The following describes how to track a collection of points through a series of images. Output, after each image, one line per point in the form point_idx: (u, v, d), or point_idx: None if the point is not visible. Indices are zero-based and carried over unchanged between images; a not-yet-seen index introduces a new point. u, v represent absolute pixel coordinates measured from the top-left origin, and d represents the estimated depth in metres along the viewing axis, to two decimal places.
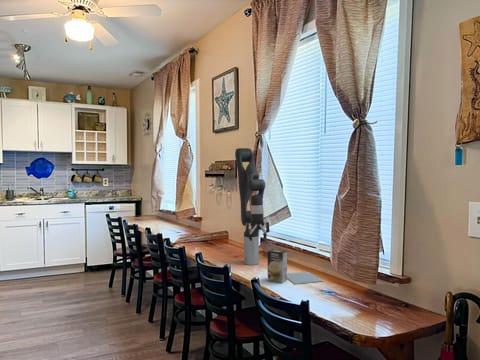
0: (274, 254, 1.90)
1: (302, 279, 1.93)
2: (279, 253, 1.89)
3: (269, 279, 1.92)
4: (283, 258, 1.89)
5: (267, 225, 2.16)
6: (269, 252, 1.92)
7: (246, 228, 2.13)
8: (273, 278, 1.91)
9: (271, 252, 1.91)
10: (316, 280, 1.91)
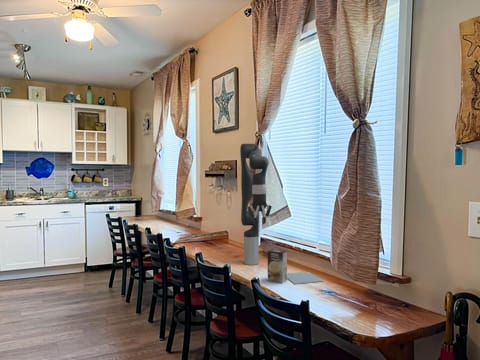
0: (274, 254, 1.90)
1: (302, 279, 1.93)
2: (279, 253, 1.89)
3: (269, 279, 1.92)
4: (283, 258, 1.89)
5: (269, 208, 1.98)
6: (269, 252, 1.92)
7: (249, 212, 1.96)
8: (273, 278, 1.91)
9: (271, 252, 1.91)
10: (316, 280, 1.91)
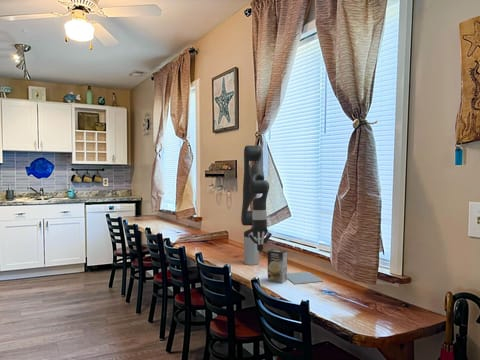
0: (274, 254, 1.90)
1: (302, 279, 1.93)
2: (279, 253, 1.89)
3: (269, 279, 1.92)
4: (283, 258, 1.89)
5: (268, 236, 1.90)
6: (269, 252, 1.92)
7: (252, 239, 1.88)
8: (273, 278, 1.91)
9: (271, 252, 1.91)
10: (316, 280, 1.91)
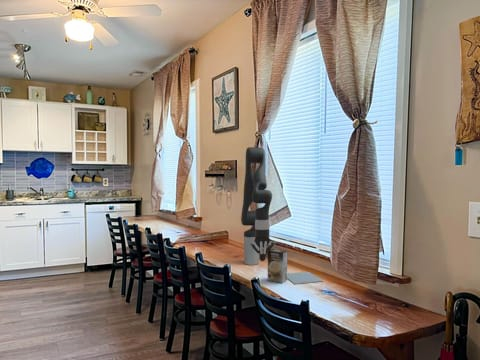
0: (274, 254, 1.90)
1: (302, 279, 1.93)
2: (279, 253, 1.89)
3: (269, 279, 1.92)
4: (283, 258, 1.89)
5: (271, 245, 1.91)
6: (269, 252, 1.92)
7: (254, 249, 1.89)
8: (273, 278, 1.91)
9: (271, 252, 1.91)
10: (316, 280, 1.91)
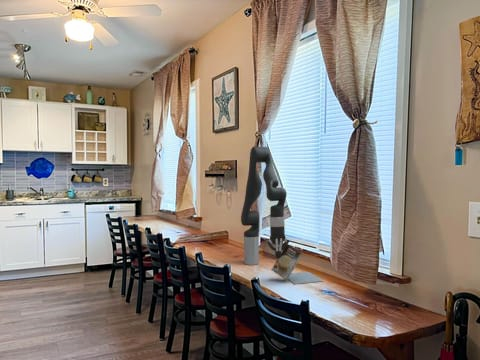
0: (291, 250, 1.92)
1: (302, 279, 1.93)
2: (297, 251, 1.91)
3: (273, 269, 1.92)
4: (297, 258, 1.91)
5: (286, 242, 1.92)
6: (288, 246, 1.93)
7: (270, 246, 1.90)
8: (278, 271, 1.91)
9: (290, 247, 1.93)
10: (316, 280, 1.91)
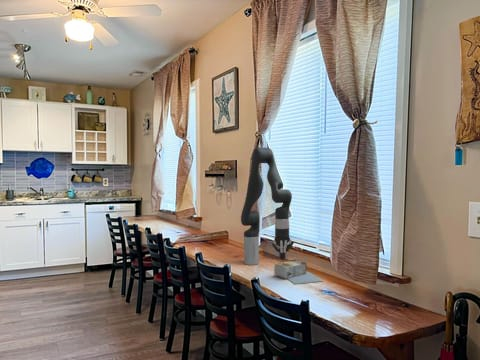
0: (298, 261, 2.06)
1: (302, 279, 1.93)
2: (303, 262, 2.04)
3: (277, 264, 2.00)
4: (302, 265, 2.01)
5: (290, 244, 1.93)
6: (296, 260, 2.09)
7: (274, 248, 1.92)
8: (281, 264, 1.99)
9: (297, 260, 2.08)
10: (316, 280, 1.91)
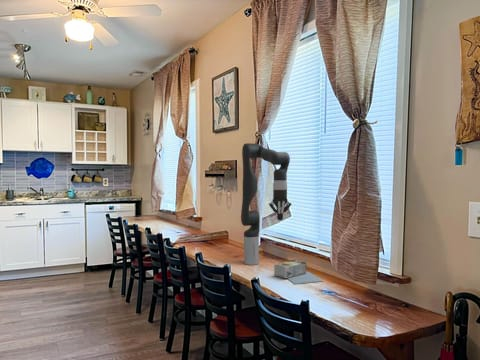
0: (298, 261, 2.06)
1: (302, 279, 1.93)
2: (303, 262, 2.04)
3: (276, 264, 2.01)
4: (302, 265, 2.01)
5: (288, 205, 1.98)
6: (295, 260, 2.09)
7: (272, 208, 1.97)
8: (281, 264, 1.99)
9: (297, 260, 2.08)
10: (316, 280, 1.91)
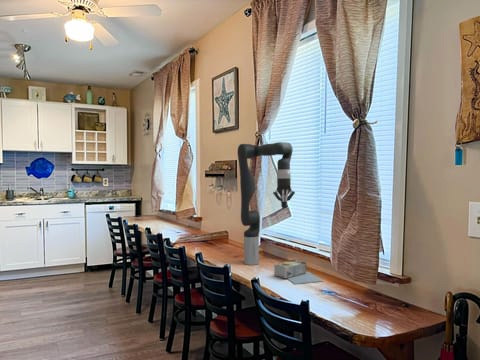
0: (298, 261, 2.06)
1: (302, 279, 1.93)
2: (303, 262, 2.04)
3: (276, 264, 2.01)
4: (302, 265, 2.01)
5: (292, 194, 2.06)
6: (295, 260, 2.09)
7: (276, 197, 2.04)
8: (281, 264, 1.99)
9: (297, 260, 2.08)
10: (316, 280, 1.91)
